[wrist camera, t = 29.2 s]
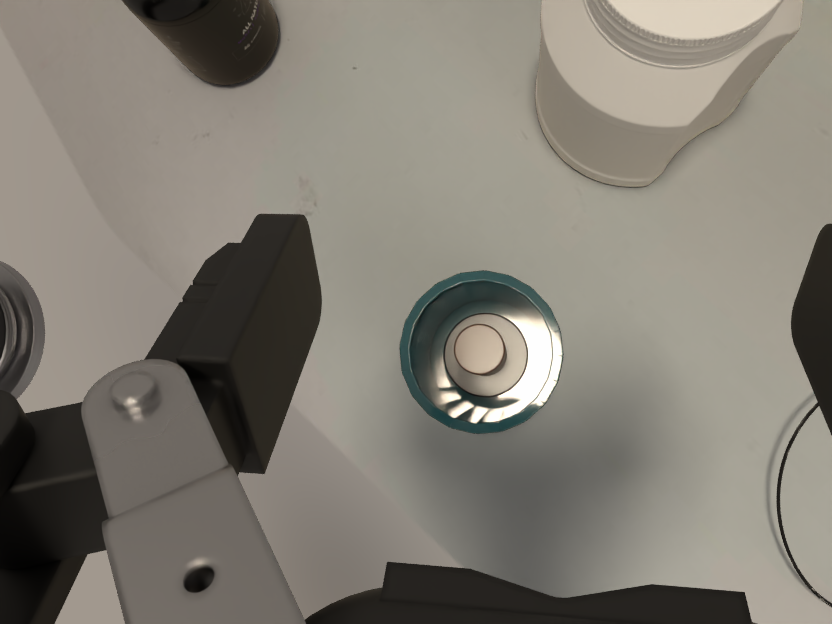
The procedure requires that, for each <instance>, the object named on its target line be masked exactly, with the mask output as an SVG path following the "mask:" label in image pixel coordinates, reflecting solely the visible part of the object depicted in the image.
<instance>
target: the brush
mask: <svg viewBox="0 0 832 624" xmlns="http://www.w3.org/2000/svg"><path fill="white" fill-rule="evenodd" d="M527 363H528V347H527V343H526V340H525V338H524V336H523V334H522V332H521V331H520V330H519V328H518V327H517V326H516V325H515V324H514V323H513V322H511V321H510V320H509V319H507V318H505V317H503V316H500V315H498V314H494V313H478V314H474V315H471V316H469V317H466V318H465V319H463V320H461V321H460V322H459V323H458V324H457V325H456V326H455V327H454V328H453V329H452V330H451V332H450V333H449V335H448V337H447V340H446V342H445V346H444V364H445V367H446V370H447V373H448V375H449V376H450V378H451V379H452V381H453V382H454V383H455V384H456V385H457V386H458V387H459V388H460V389H462V390H463V391H465V392H467V393H469V394H471V395H474V396H478V397H494V396H498V395H501V394H504V393H506V392H507V391H509V390H511V389H512V388H513V387H514V386H515V385H516V384H517V383H518V382H519V381H520V380H521V378H522V376H523V375H524V373H525V370H526V367H527Z"/></svg>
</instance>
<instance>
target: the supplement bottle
mask: <svg viewBox="0 0 832 624" xmlns="http://www.w3.org/2000/svg"><path fill="white" fill-rule="evenodd" d="M122 1H123V2H124V4H125V5H126V6H127V7H128V8H129V10H130V11H131V12H132V13H133V14H134V15H135V16H136V17H137V18H138V19H139V20H140V21H141V22H142V23H143V24H144V25H145V26H146V27H147V28H148V29H149V30H150V31H151V32H152V33H153V34H154V35H155V36H156V37H157V38H158V39H159V40H160V41H161V42H162V43H163V44H164V45H165V46H166V47H167V48H168V49H169V50H170V51H171V52H172V53H173V54H174V55H175V56H176V57H177V58H178V59H179V60H180V61H181V62H182V63H183V64H184V65H185V66H186V67H187V68H188V69H189V70H190V71H191V72H192V73H194V74H195V75H196V76H198V77H199V78H201V79H203V80H205V81H207V82H210V83H214V84H219V85H230V84H236V83H240V82H243V81H245V80H247V79H249V78H251V77H253V76H254V75H256V74H257V73H258V72H260V71H261V70H262V69H263V68H264V67H265V65H266V64H267V63H268V62H269V60H270V59H271V57H272V55H273V53H274V51H275V48H276V45H277V41H278V21H277V17H276V14H275V12H274V9H273V7H272V5H271V4H270V2H269V0H122Z"/></svg>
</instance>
